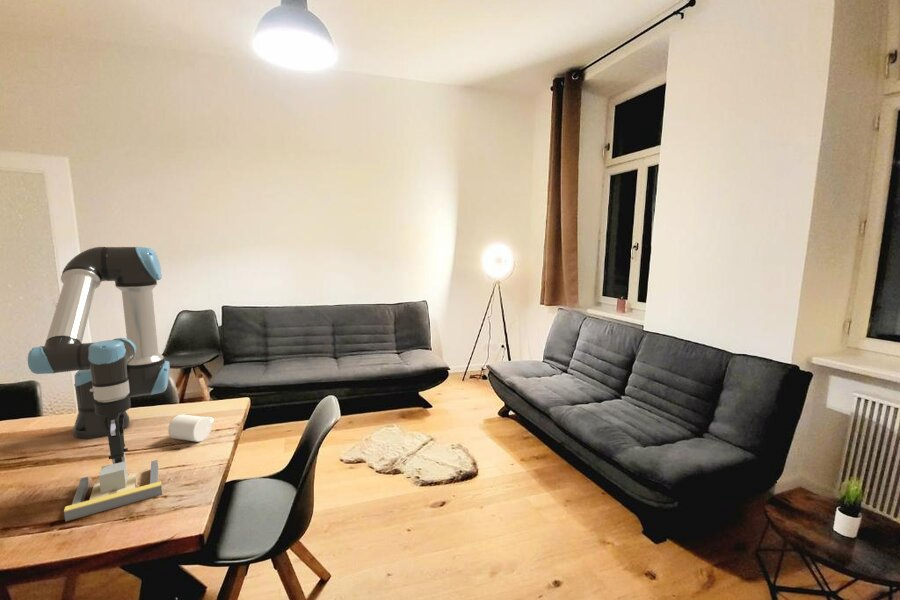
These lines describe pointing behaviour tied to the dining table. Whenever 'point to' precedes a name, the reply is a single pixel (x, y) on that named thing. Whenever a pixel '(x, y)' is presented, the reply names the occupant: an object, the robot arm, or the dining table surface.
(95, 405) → the robot arm
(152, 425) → the dining table surface
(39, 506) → the dining table surface
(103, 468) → the light grey cube
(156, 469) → the dock
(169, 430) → the mug
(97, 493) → the pallet
